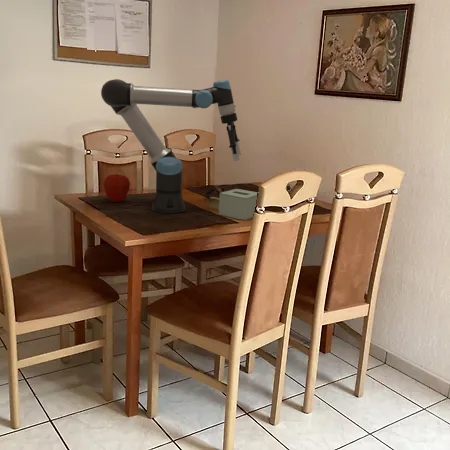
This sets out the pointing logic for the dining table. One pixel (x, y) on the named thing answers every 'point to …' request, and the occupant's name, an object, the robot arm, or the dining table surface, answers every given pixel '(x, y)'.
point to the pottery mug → (214, 191)
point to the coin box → (237, 204)
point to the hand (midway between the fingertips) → (237, 157)
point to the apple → (116, 187)
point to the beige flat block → (214, 203)
